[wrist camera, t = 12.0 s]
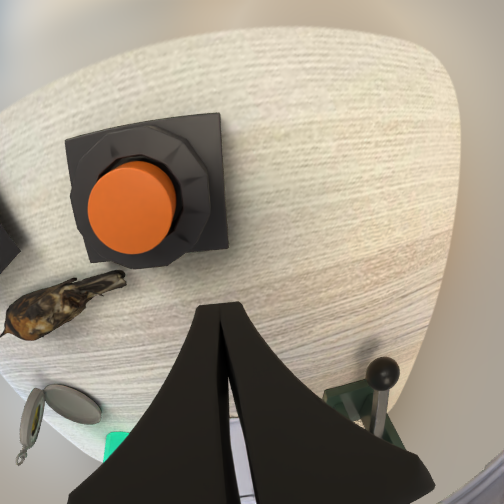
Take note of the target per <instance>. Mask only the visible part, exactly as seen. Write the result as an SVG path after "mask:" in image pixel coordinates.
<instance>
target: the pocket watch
mask: <svg viewBox="0 0 504 504" xmlns="http://www.w3.org/2000/svg"><path fill="white" fill-rule="evenodd" d="M45 401H46V403H47V404H48V405H49V406H50V407H51V408H52V409H53V410H54V411H55V412H57V413H58V414H60V415H61V416H63V417H65V418H67V419H69V420H71V421H74V422H77V423H81V424H87V425H93V424H96V423H99V422H100V420H101V418H102V417H101V416H102V415H101V410H100V408H99V407H98V406H97V404H96V403H95V402H94V401H92V400H91V399H90V398H89V397H87V396H86V395H84V394H83V393H81V392H79V391H77V390H75V389H72V388H69V387H67V386H63V385H56V384H53V385H49V386H47V387H46V388H45V389H44V390H40V389H37V388H34V389H33V390H32V391H31V393H30V395H29V397H28V399H27V401H26V404H25V407H24V411H23V414H22V418H21V424H20V442H21V444H22V445H23V448H22V450H21V451H20V453H19V454H18V456H17V457H16V464H17V465H18V466H19V465H21V464H22V463H23V461H24V460H25V458H26V457H27V453H26V452H27V449H30V448H31V447H32V446H33V445H34V444H35V442H36V439H37V437H38V433H39V430H40V426H41V422H42V417H43V412H44V406H45ZM19 457H20V458H21V459H22V460H21V462H20V463H18V459H19Z"/></svg>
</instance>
